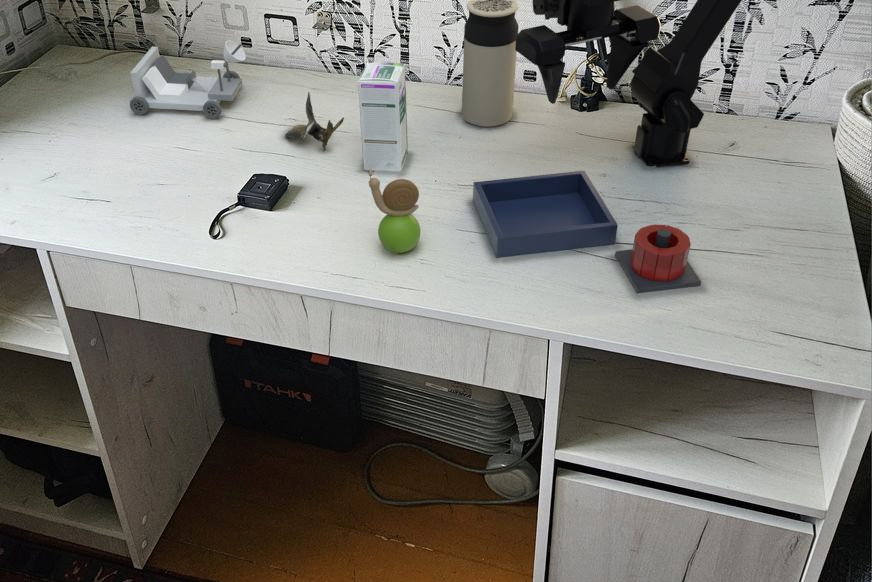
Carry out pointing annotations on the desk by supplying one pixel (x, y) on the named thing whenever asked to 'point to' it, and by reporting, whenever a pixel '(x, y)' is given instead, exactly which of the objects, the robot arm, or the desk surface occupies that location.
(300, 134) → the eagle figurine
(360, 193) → the desk surface
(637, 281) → the ring stand
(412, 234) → the snail figurine
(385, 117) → the syrup box
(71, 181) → the desk surface
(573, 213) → the box
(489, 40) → the travel mug
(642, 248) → the ring
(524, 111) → the desk surface
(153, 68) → the toy buggy
